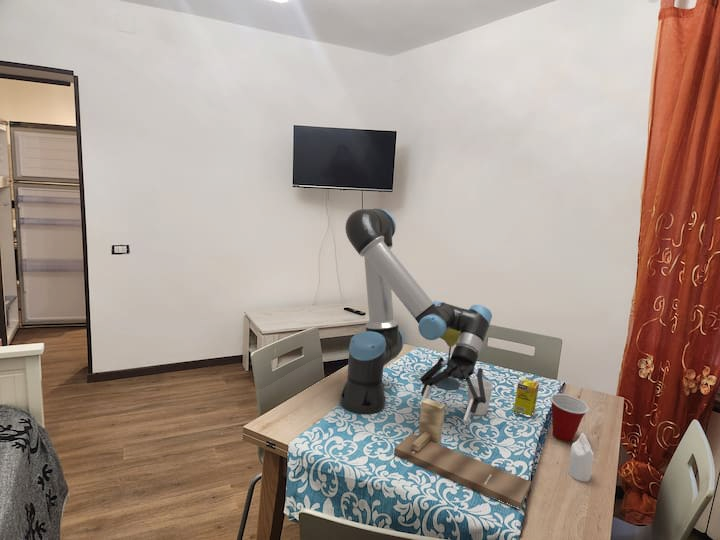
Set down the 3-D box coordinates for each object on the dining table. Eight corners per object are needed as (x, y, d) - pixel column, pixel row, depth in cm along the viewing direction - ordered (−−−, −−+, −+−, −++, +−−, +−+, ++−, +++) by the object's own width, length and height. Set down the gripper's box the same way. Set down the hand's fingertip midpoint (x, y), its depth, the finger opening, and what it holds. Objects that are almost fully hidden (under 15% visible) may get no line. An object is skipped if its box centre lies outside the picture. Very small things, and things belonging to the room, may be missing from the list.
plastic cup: (566, 450, 134) (573, 412, 132) (537, 431, 143) (542, 396, 141) (590, 443, 139) (597, 406, 137) (560, 425, 148) (566, 391, 146)
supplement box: (531, 419, 151) (536, 388, 149) (512, 413, 154) (517, 383, 152) (534, 412, 156) (539, 382, 154) (517, 406, 159) (521, 377, 157)
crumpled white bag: (601, 441, 117) (579, 439, 117) (593, 483, 119) (571, 480, 120) (592, 429, 123) (570, 426, 123) (584, 469, 125) (563, 466, 126)
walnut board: (393, 454, 125) (394, 447, 125) (410, 439, 133) (411, 432, 133) (519, 510, 107) (520, 502, 106) (530, 488, 115) (531, 481, 114)
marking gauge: (404, 451, 126) (408, 411, 123) (422, 435, 135) (426, 398, 132) (424, 460, 122) (428, 419, 120) (440, 443, 131) (445, 404, 129)
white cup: (489, 418, 149) (493, 390, 147) (465, 414, 151) (469, 386, 149) (488, 407, 157) (492, 380, 155) (464, 403, 158) (468, 376, 156)
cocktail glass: (461, 399, 162) (470, 331, 157) (414, 384, 170) (421, 320, 165) (475, 381, 177) (483, 320, 173) (431, 369, 186) (438, 310, 181)
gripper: (508, 367, 137) (487, 433, 128) (432, 346, 151) (408, 405, 141) (505, 355, 132) (483, 424, 123) (427, 335, 145) (401, 395, 136)
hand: (442, 414), depth 132 cm, fingers open, 13 cm apart
